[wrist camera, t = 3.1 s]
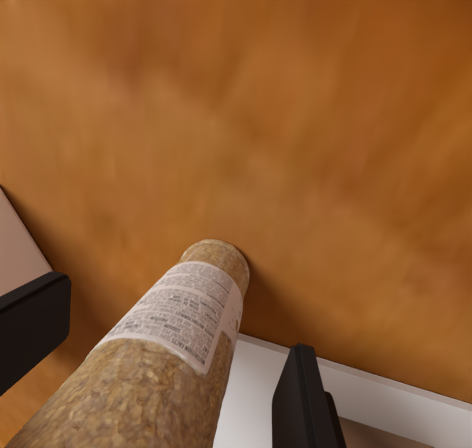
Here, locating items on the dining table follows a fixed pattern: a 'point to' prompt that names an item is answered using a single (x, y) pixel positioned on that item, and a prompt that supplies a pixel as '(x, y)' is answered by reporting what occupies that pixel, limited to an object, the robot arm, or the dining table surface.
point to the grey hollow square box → (374, 437)
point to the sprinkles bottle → (155, 364)
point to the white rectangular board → (345, 398)
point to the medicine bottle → (17, 251)
